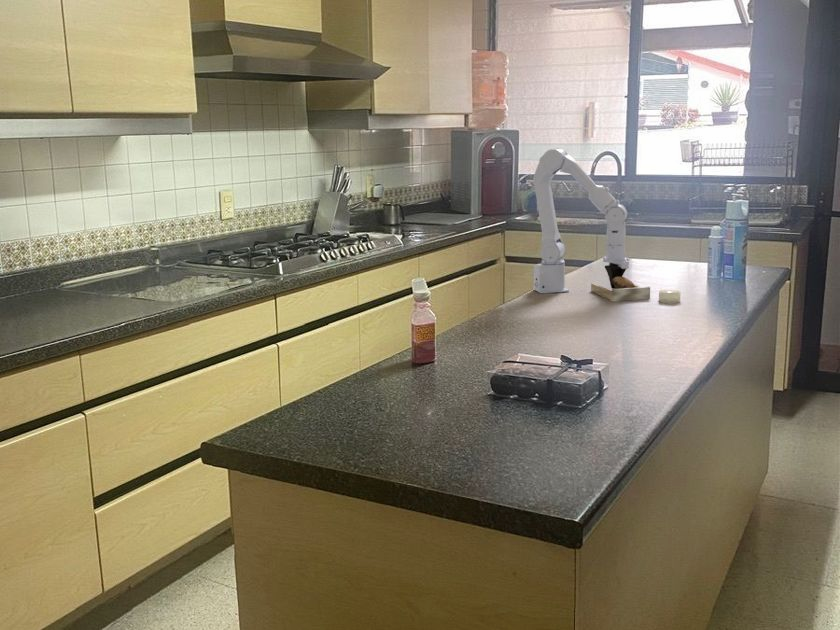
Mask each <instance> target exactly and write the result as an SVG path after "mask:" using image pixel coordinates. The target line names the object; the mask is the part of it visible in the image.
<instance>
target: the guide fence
mask: <svg viewBox="0 0 840 630" xmlns="http://www.w3.org/2000/svg"><path fill="white" fill-rule="evenodd" d="M590 284H591V285H590V291H591V292H592V293H594V294H596V295H598V296H601V297H603V298H606V300H609V301H611V302H624V301H635V300H636V301H638V300H649V299H650V300H651V287H650V286H639V285H637V284H635V283H633V284H634V285H635V288H622V289H612V288H611V290H610V289H608V288H606V287H603V286H601V285H599V284H597V283H594V282H592V283H591V282H590Z"/></svg>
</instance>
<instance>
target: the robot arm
mask: <svg viewBox="0 0 840 630" xmlns="http://www.w3.org/2000/svg"><path fill="white" fill-rule="evenodd" d="M559 171H560V172H561V173H564V174H568V175H569V174H570V176H572V177H573V179H575V180H576V182H578V184H579V185H581V186H582V187H583V188H584V189H585V191H587V192H588V200H589V201H590V202H591V203H592V205H594V206H595V207H596V208H597V210H598V211H599V212H600V213H601V214H604V215H605V216H604V218H605V221H606V222H607V226H606V227H607V228H606V244H605V246H606V247H605V248H606V249H605V250H606V252H605V255H603V256H602V257H603V258H602V260H603V261H602V262H603V263H608V264H607V265H604V269H605V271H606V273H607V276H608V280H609V284H610V289H611V290H612V289H615V285H614V284H613V283H612V279H613V278H615V277H619V276H621V277H624V273H625V272H626V270H628V269H629V267H630V264H629V260H630V258H628V257H626V239H627V236H626V235H627V231H626V230H627V229H626V221H625V220H626V219H627V217H628V211H627V208H626V207H625V205H623V204H621V203H620V200H619V199H616V198H615V196H613V195H612V194H611V192H609V191H610V189H609V187H607V186H606V187H605V186H604V185H597V184H596V183H595V182H594V180H593V179H592V178H591V177H590V175H588V173H587V171H585V170H584V168H583V167H582V166H581V165H580V164H579V163H578V162H577V160H575V158H574V157H573V156H571V155H570V154H568V152H567V150H565V149H563V148H559V147H556V148H552V149H548V150H546V151H545V152H544V153H543V155H542V156H541V157H540V158H539V160H538V164H537V167H536V170H535V171H534V174H533V178H532V179H533V185H534V192H535V197H536V204H537V210H538V215H539V217H538V218H539V220H540V227H541V234H542V235H541V248H540V252H539V253H540V258H541V262H540V263H537V264H534V266H533V287H532V289H533V291H536V292H537V293H539V294H551V293H552V294H553V293H564V292H569V291H570V289H568V288H566V285H565V284H566V283H565V282H566V280H565V279H566V277H565V274H566V269H565V268H566V263H565V260H564V258H563V257H564V256H565V255H566V251H567V248H566V245H565V244H564V242H563V240H562V236H561V233H560V232H559V228H558V221H557V215H556V208H555V203H554V202H555V201H554V196H553V191H552V184H551V180H552V179H553V177H555V176H556V174H557V173H558V172H559Z"/></svg>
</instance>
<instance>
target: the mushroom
mask: <svg viewBox="0 0 840 630" xmlns="http://www.w3.org/2000/svg"><path fill="white" fill-rule="evenodd" d="M612 283H613V284H614V285H615V289H622V288H635V285H636V284H635V283H634V282H632V281H631V280H630V279H629V278H626V277H625V276H622V277H621V276H619V277H615V278H613V279H612ZM634 284H635V285H634Z"/></svg>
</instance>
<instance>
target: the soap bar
mask: <svg viewBox="0 0 840 630" xmlns="http://www.w3.org/2000/svg"><path fill="white" fill-rule="evenodd" d="M681 293H682V292H681V290H678V289H661V290H659V291H658V302H659V303H662V304H678V302H679V303H680V302H681Z"/></svg>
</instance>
